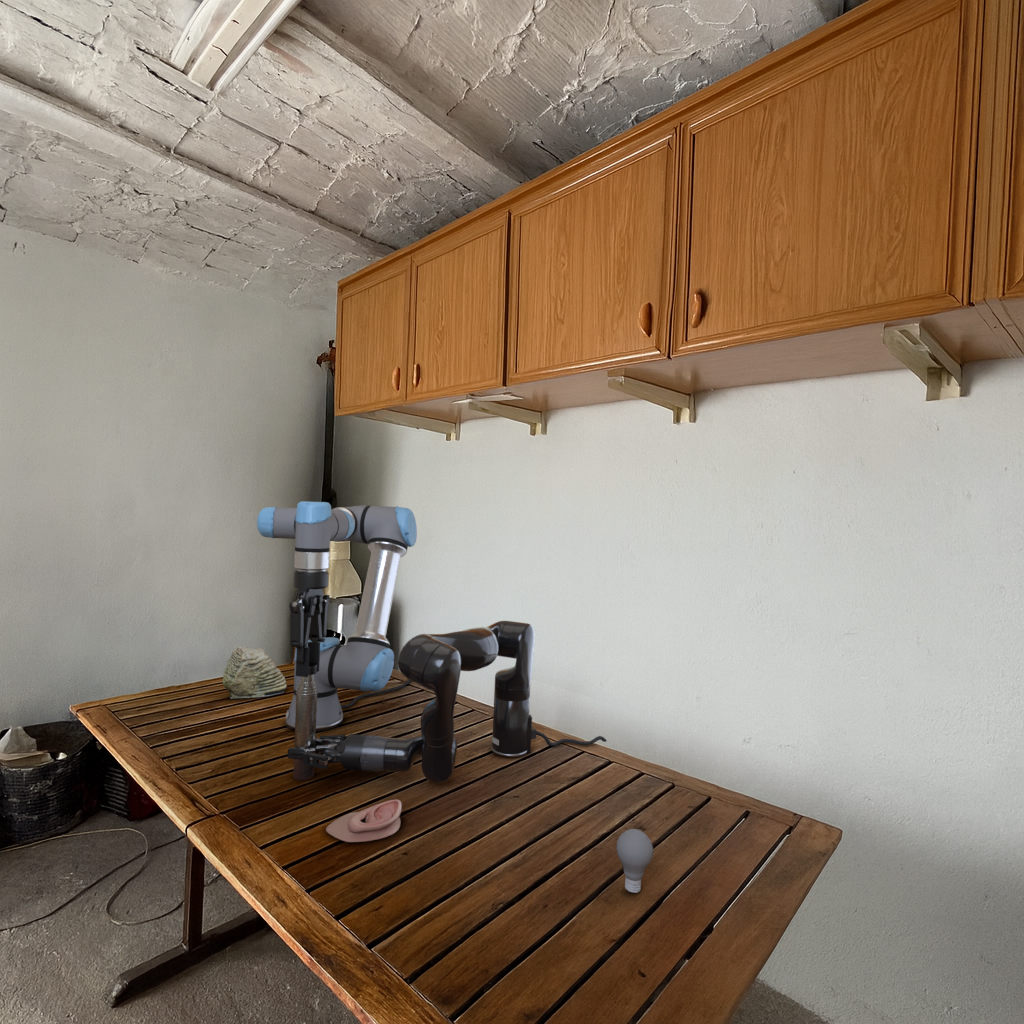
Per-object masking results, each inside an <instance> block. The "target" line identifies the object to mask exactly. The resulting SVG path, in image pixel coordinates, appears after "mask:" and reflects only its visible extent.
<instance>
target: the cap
mask: <svg viewBox="0 0 1024 1024" xmlns="http://www.w3.org/2000/svg"><path fill="white" fill-rule="evenodd" d="M316 673H317V664H316V663H313V662H309V675H314V674H316Z"/></svg>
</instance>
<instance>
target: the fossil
mask: <svg viewBox="0 0 1024 1024" xmlns="http://www.w3.org/2000/svg"><path fill="white" fill-rule="evenodd" d="M222 676H223V677H222V685H223V687H224V688H225V690H226V691H228V693H229V698H230V699H250V698H264V697H271V696H275V695H281V694H284V693H285V691H286V689H287V687H288V686H287V680H286V678H285V676H284V674H283V673H282V672H281V669H279V668H278V667H277V665H276V663H275V662H274V660H273V659H272V658H271V657H270V656H269V655H268V654H267V653H266V652H265V650H264V649H263V648H260V647H258V648H251V647H247V646H246V647H245V646H238V647H237V648H236V649H235V650H233V651H232V653H231V656H230V657H229V659H228V660H227V663H226V666H225V668H224V671H223V675H222Z"/></svg>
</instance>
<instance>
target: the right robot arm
mask: <svg viewBox="0 0 1024 1024" xmlns="http://www.w3.org/2000/svg"><path fill="white" fill-rule="evenodd" d="M535 644H536V633H535V629H534V626H533V625H532V624H530V623H528V622H520V621H512V620H498V621H497V622H494V623H492V624H490V625H487V626H479V627H472V628H466V629H463V630H457V631H452V632H446V633H420V634H417V635H415V636H413V637H412V638H411V639H409V640H408V641H407V642H405V644H404V645H403V646H402V648H401V650H400V651H399V654H398V657H397V666H398V669H399V671H400V673H401V674H402V676H404V677H405V678H406V679H407V680H408V679H409V680H411V681H410V682H414V683H415V684H417V685H419V686H421V687H423V688H425V689H427V690H430V691H433V693H434V695H435V697H434V698H433V699H432V700H431V701H430V702H429V703H427V705H425V707H424V708H423V710H422V711H421V715H420V733H421V735H419V736H414V737H409V738H397V737H385V736H381V735H368V734H349V735H346V734H329V735H319V738H318V737H316V741H315V748H310V749H305V748H294V747H289V748H288V749H287V755H286V756H287V758H288V759H289V760H294V759H303V760H304V765H307V766H312V767H314V768H317V769H322V770H327V769H328V768H329V764H337V763H341V765H342V767H343V769H344V770H345V771H358V772H359V771H360V772H372V773H373V772H377V773H378V772H391V773H392V772H395V773H408V772H409V771H410V770H412V767H413V766H414V764H415V762H416V760H417V759H418V758H421V763H420V765H421V767H420V768H421V772H422V774H423V776H424V778H425V779H426V780H427V781H428V782H430V783H432V784H436V785H437V784H438V785H440V784H444V783H446V782H447V781H449V780H450V779H451V777H452V776H453V774H454V770H455V764H456V757H457V751H458V743H457V740H456V739H455V721H454V716H455V715H454V713H455V706H456V701H457V697H458V696H457V695H458V691H459V685H460V679H461V678H460V677H461V672H475V671H478V670H481V669H485V668H486V667H488V666H491V665H492V664H493V663H494V662H495V661H496V659H497V658H498V657H500V658H507V659H515V665H513V666H511V667H508V668H502V669H499V670H498V671H496V673H495V674H494V690H493V713H492V714H493V715H492V738H491V752H492V753H493V754H494V755H496V756H498V757H503V758H510V759H511V758H512V759H514V758H520V757H523V756H526V755H527V754H531V753H532V752H531V751H532V740H536V739H537V736H539V737H541V738H542V739H543V740H544V742H545V743H546V744H547V745H548V746H549V747H557V746H558V745H560V744H564V743H567V744H568V743H569V744H570V743H571V744H574V745H580V746H590V745H593V744H595V743H597V742H598V741H602V742H604V743H607V739H606V738H605V737H604V736H602V735H598V736H595V737H594V738H593V739H591V740H589V741H587V740H586V741H584V740H577V739H573V738H562V739H559V740H557V741H555V742H552V741H551V740H550V739H549V737H548V736H547V735H546V734H545V733H544V732H541V731H538V730H537V729H536V728H535V727H533V715H531V713H530V706H531V705H530V704H531V683H532V681H531V680H532V675H533V665H534V653H535V646H536V645H535ZM312 752H315V753H312ZM311 761H312V762H311Z"/></svg>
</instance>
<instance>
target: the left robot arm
mask: <svg viewBox="0 0 1024 1024" xmlns="http://www.w3.org/2000/svg"><path fill="white" fill-rule="evenodd" d="M256 527H257V528H256V529H257V531H258V533H259V534H260V535H261V536H262V537H264V538H270V539H285V540H286V539H287V540H295V541H294V554H293V558H294V564H293V565H294V566H293V567H294V569H295V570H294V572H293V583H292V585H293V587H294V588H295V589H297V590H298V592H297V595H296V600H295V601H290V602H289V605H288V607H289V611H290V632H289V634H290V636H289V637H290V638H289V639H290V640H289V644H290V646H291V647H292V648H295V652H294V653H295V654H294V659H293V661H294V672H293V695H292V696H293V697H292V699H291V702H290V704H289V708H288V710H286V713H285V726H286V728H287V729H289V730H291V731H295V715H296V692H297V688H298V686H299V683H300V680H301V677H308V676H309V662H313V663H316V664H317V673H316V674H314V680H315V683H316V687H317V714H316V733H317V732H325V731H329V730H332V729H335V728H337V727H339V726H340V725H342V723H343V722H344V714H343V709H347V708H350V707H352V706H353V705H354V704H355V703H356V702H357V701H358V700H360V699H364V698H367V697H373V696H377V695H383V694H386V693H390V692H394V691H397V690H400V689H402V688H404V687H406V686H407V685H408V684H409V683H411V682H412V681H411V680H409V679H408V678H407V680H406V681H405V682H404V683H402V684H400V685H398V686H394V687H390V688H386V689H384V688H385V686H386V685H387V684H388V682H389V681H390V678H391V677H392V676H391V675H392V673H393V670H394V666H395V665H394V664H395V661H394V660H395V654H394V653H395V652H394V651H393V650H392V649H391V648H390V645H391V644H390V641H389V639H387V637H386V636H387V631H388V625H389V621H390V615H391V610H392V606H393V601H394V594H395V588H396V584H397V580H398V579H397V578H398V574H399V573H398V572H399V568H400V563H401V558H403V557H404V556H406V554H408V548H411V547H414V546H415V544H416V543H417V537H418V536H417V535H418V530H417V529H418V528H417V520H416V517H415V513H414V512H413V511H412V510H411V509H410V508H408V507H401V506H397V505H396V506H388V505H387V506H385V505H384V506H383V505H364V504H363V505H353V506H352V505H351V506H345V507H341V506H340V507H339V506H338V507H335V508H332V505H331V504H330V502H327V501H303V500H302V501H299V502H298V503H297V504H296V507H278V506H266V507H264V508H262V509H261V510H259V513H258V514H257V521H256ZM341 541H346V542H352V543H357V544H365V545H367V549H368V550H369V551H370V553H371V554H370V557H369V562H368V567H367V572H366V576H365V577H366V578H365V581H364V587H363V592H362V596H361V600H360V601H361V602H360V605H359V611H358V616H357V620H356V625H355V628H354V629H355V630H354V632H353V633H352V634H350V635H349V636H348V637H347V641H346V644H340V643H341V641H340V639H339V638H338V637H334V636H331V637H330V636H329V637H327V626H328V610H329V603H330V599H331V596H330V594H325V593H324V589H326V588H328V586H329V580H330V579H329V576H330V573H329V571H328V569H330V547H331V542H341ZM338 689H342V690H343V689H344V690H351V691H353V690H354V691H362V692H365V693H363V694H360V695H358V696H356V697H354V698H353V699H352V701H350V702H349V703H346V704H341V702H340V699H339V695H338ZM382 689H383V690H382ZM366 692H368V693H366Z"/></svg>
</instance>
